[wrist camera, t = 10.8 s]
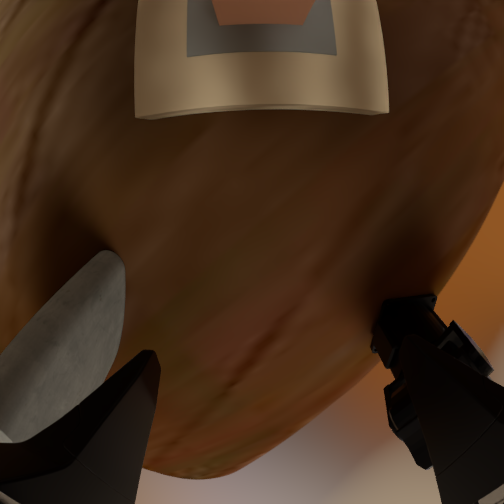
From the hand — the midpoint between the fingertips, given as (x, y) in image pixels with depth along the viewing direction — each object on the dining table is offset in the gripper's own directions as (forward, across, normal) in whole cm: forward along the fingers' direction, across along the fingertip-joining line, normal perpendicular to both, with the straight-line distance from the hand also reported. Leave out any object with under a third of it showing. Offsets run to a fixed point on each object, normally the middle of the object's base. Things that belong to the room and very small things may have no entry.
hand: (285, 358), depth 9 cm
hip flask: (+13, +16, +8) cm, 22 cm away
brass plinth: (+13, 0, -17) cm, 21 cm away
